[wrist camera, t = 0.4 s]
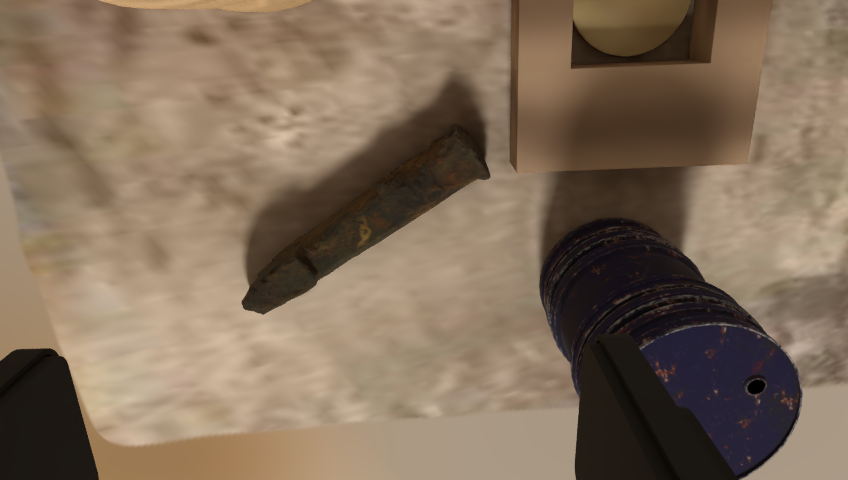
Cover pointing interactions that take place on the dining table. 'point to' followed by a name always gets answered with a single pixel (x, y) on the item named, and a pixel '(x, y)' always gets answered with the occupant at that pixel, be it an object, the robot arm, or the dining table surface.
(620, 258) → the navy ridged cylinder
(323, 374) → the dining table surface
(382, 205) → the hand tool
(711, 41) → the holder
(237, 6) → the container
